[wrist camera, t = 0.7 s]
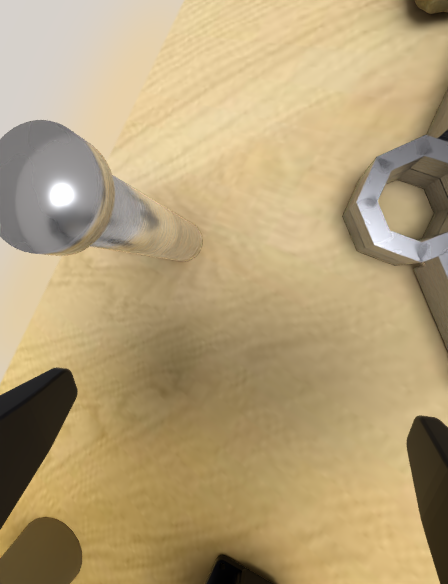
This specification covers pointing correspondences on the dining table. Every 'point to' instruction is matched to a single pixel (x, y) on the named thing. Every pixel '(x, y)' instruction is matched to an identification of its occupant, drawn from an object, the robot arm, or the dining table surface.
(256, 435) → the dining table surface
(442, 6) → the fennel bulb
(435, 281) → the hinge leaf
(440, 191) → the hinge leaf
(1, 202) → the hinge pin
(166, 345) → the dining table surface
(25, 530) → the brown game pawn
